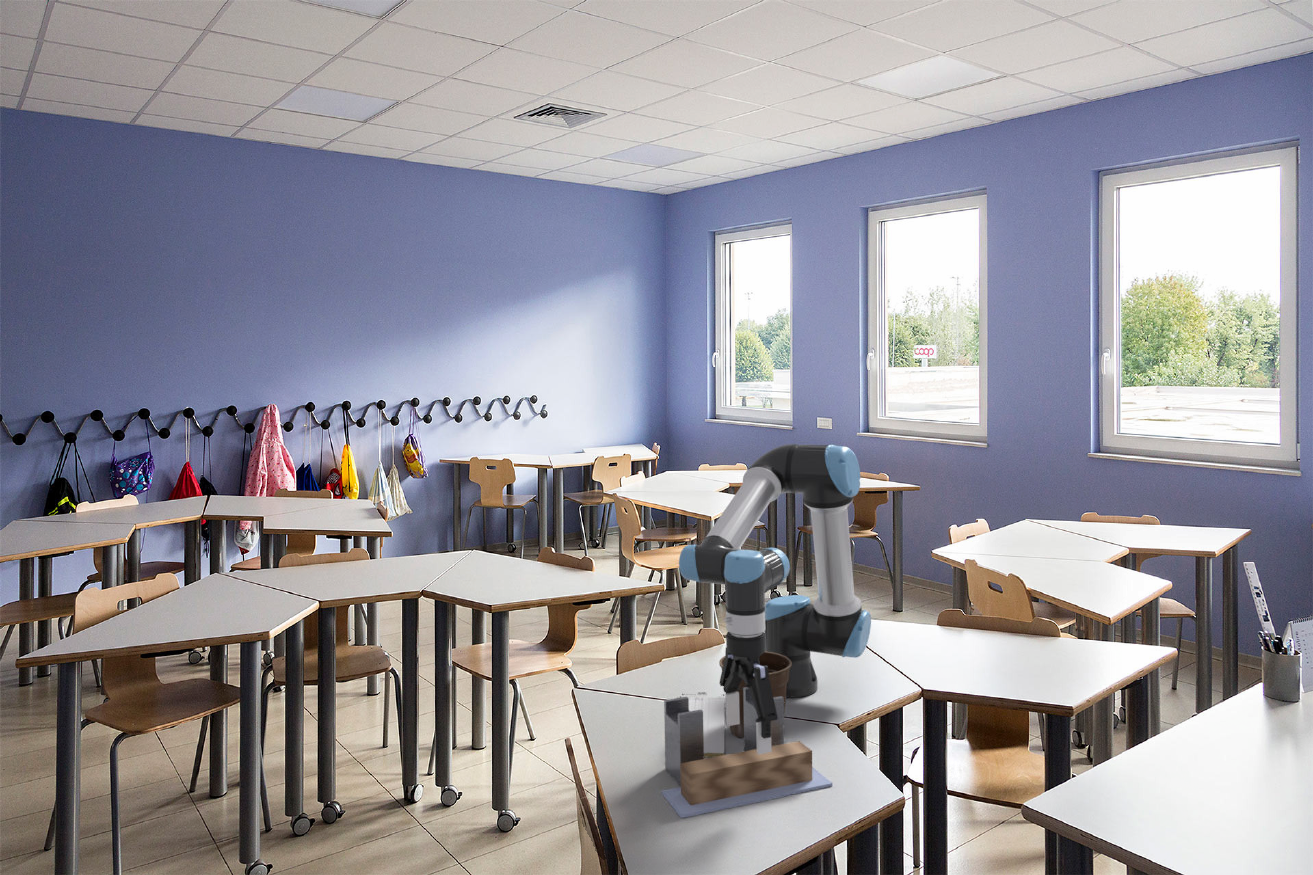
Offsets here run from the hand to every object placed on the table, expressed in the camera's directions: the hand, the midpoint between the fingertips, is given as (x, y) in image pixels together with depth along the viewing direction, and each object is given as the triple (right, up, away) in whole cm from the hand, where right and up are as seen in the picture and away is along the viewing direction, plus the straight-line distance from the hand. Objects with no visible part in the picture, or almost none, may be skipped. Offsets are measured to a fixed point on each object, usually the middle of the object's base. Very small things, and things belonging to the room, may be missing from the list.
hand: (747, 738), depth 171 cm
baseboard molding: (-8, -9, +31) cm, 33 cm away
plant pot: (+5, -8, +28) cm, 30 cm away
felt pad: (0, -10, 0) cm, 10 cm away
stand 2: (+5, -9, +13) cm, 17 cm away
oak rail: (0, -10, 0) cm, 10 cm away
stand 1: (-12, -10, +7) cm, 17 cm away
